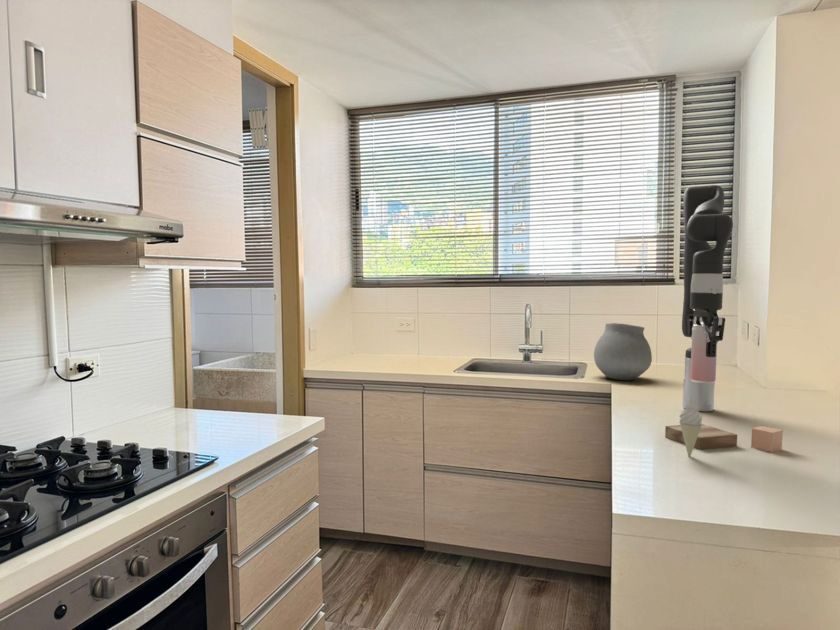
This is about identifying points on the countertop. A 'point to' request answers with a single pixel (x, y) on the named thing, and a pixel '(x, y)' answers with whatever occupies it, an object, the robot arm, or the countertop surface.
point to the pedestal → (704, 437)
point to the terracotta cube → (766, 439)
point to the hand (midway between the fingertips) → (703, 355)
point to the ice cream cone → (690, 424)
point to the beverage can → (701, 358)
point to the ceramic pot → (622, 352)
